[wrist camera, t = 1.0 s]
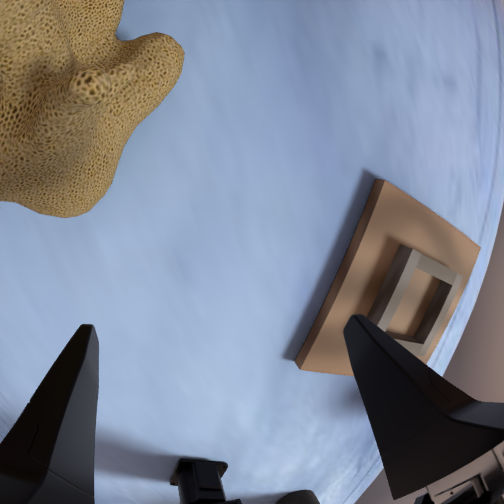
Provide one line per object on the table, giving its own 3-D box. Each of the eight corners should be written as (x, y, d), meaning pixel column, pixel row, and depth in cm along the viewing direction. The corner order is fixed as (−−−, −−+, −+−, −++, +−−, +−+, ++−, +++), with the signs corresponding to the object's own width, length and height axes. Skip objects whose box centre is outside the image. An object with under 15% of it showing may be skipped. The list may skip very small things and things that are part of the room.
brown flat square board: (410, 374, 38) (424, 388, 34) (294, 361, 31) (307, 381, 28) (473, 244, 34) (492, 251, 31) (375, 178, 28) (398, 182, 24)
